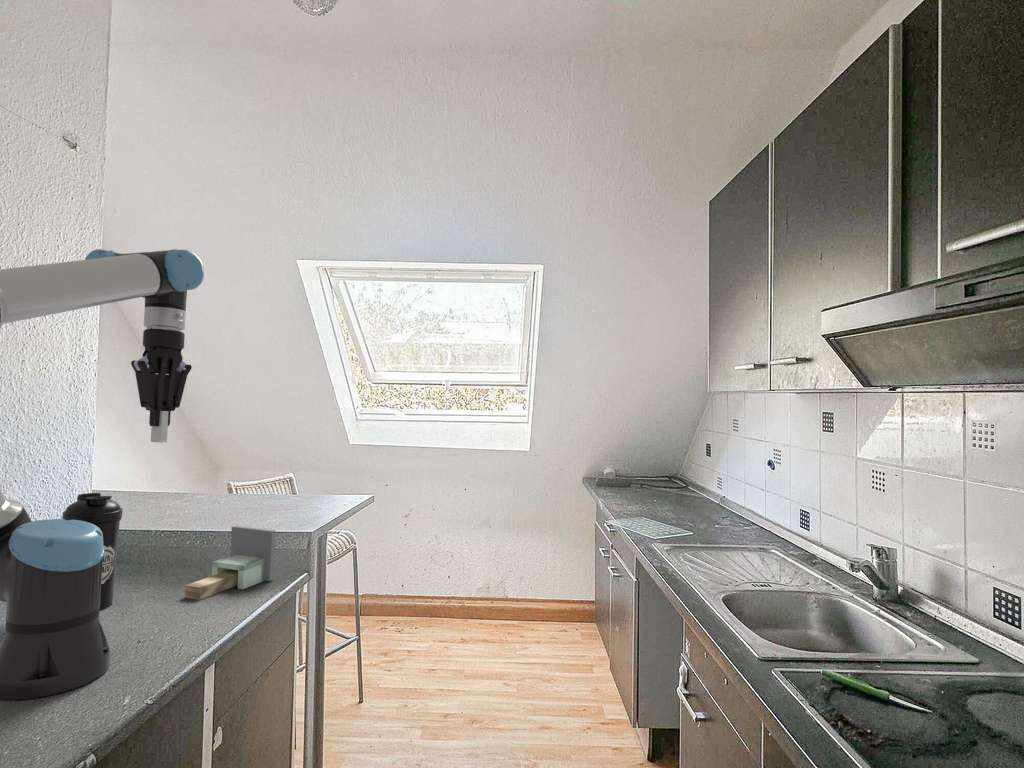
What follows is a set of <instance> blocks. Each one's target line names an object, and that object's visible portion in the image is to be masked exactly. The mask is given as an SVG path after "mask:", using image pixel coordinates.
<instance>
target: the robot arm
mask: <svg viewBox="0 0 1024 768" xmlns="http://www.w3.org/2000/svg"><path fill="white" fill-rule="evenodd" d="M204 278H205V269H204V266H203V262H202V260H201V258H199V256H198V255H197V254H196V253H194V252H193V251H192V250H188V249H178V248H175V249H174V248H173V249H168V250H157V251H149V252H148V251H143V252H128V253H119V252H115V251H114V250H108V249H107V250H105V249H100V248H98V249H93V250H91V251H90V252H89V253H88V254H87V255H86V257H85V258H84V259H81V260H72V261H62V262H55V263H46V264H37V265H28V266H20V267H11V268H3V269H2V268H1V269H0V329H1V327H2V326H3V325H6V324H10V323H14V322H20V321H24V320H30V319H36V318H42V317H45V316H50V315H57V314H60V313H66V312H67V313H68V312H71V311H77V310H82V309H87V308H92V307H97V306H103V305H107V304H113V303H117V302H123V301H128V300H132V299H133V300H134V299H137V298H143V299H144V313H143V326H144V327H145V328H146V329H144V330H143V333H142V346H143V347H144V351H143V353H142V356H141V358H139V359H137V360H132V361H131V362H130V364H131V367H132V369H133V371H134V373H135V378H136V386H137V391H138V398H139V404H140V407H141V408H145V410H146V411H149V419H148V420H149V421H148V422H149V424H148V425H149V426H150V427H151V429H150V443H167V442H168V427H169V426H171V425H170V424H171V413H172V412H174V411H175V410H176V409H178V408H179V407H181V402H182V398H183V395H184V391H185V386H186V381H187V379H188V375H189V373H190V372H191V370H192V365H191V364H187V363H186V362H184V361H183V355H182V350H184V348H185V338H186V337H185V333H184V332H183V331H184V330H185V329H186V310H187V298H188V297H187V296H188V291H192V290H195V289H197V288H198V287H199V286H200V285H201V284H202V283H203V281H204ZM103 555H104V545H103V534H102V531H101V530H100V528H99V527H97V526H96V525H94V524H92V523H89V522H85V521H80V520H65V519H62V518H49V519H40V520H34V521H32V519H31V518H30V515H29V514H28V512H27V510H26V509H25V507H24V505H23V503H22V502H21V501H19V500H14V499H9V498H5V496H4V494H3V493H2V491H1V490H0V601H1V602H5V603H6V611H5V612H6V613H5V629H4V635H3V638H2V640H1V642H0V699H1V700H28V699H35V698H43V697H47V696H53V695H56V694H61V693H64V692H67V691H71V690H74V689H77V688H79V687H82V686H84V685H86V684H89V683H91V682H93V681H95V680H97V679H98V678H100V677H102V675H104V674H105V673H106V672H107V671H108V670H109V668H110V666H111V665H110V664H111V663H110V661H111V650H110V647H109V645H108V641H107V637H106V636H105V632H104V629H103V627H102V622H101V621H100V611H101V610H100V595H101V579H102V564H103Z"/></svg>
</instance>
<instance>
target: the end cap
mask: <svg viewBox="0 0 1024 768" xmlns="http://www.w3.org/2000/svg"><path fill="white" fill-rule="evenodd" d="M230 531H231V533H230V534H231V535H230V552H229V553H230V555H228V556H225V557H223V558H219V559H217V560H216V559H215V560H213V561H212V566H211V567H212V568H211V576H214V575H216V574H219V573H222V572H225V571H228V570H231V569H233V570H238V585H237V589H239V590H244V589H247V588H249V587H253V586H254V585H257V584H260V583H262V582H272V581H273V580H274V571H275V567H274V566H275V546H276V544H275V543H276V530H274V529H267V528H266V529H265V528H258V527H257V528H256V527H250V526H249V527H248V526H247V527H246V526H239V525H233V526H231V530H230Z"/></svg>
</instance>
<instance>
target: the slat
mask: <svg viewBox="0 0 1024 768" xmlns="http://www.w3.org/2000/svg"><path fill="white" fill-rule="evenodd" d="M236 586H238V570H233V569H231V570H228V571H225V572H222V573H219V574H216V575H214V576H212V575H211V576H208V577H206V578H203V579H200V580H197V581H194V582H191V583H188V584H185V588H184V589H185V592H184V598H186V599H193V600H199V601H200V600H203V599H206V598H208V597H210V596H213V595H215V594H219V593H221V592H223V591H226V590H228V589H231V588H234V587H236Z"/></svg>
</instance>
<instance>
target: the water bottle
mask: <svg viewBox="0 0 1024 768" xmlns="http://www.w3.org/2000/svg"><path fill="white" fill-rule="evenodd" d="M76 498H77V500H76V501H75V502H73V503H70V505H68V506H67V507H66V509H65V510H64V511H63V512H62V514H61V515H62V518H61V519H65V520H80V521H85V522H89V523H92V524H94V525H96V526H97V527H99V528H100V530H101V531H102V534H103V545H104V555H103V564H102V579H101V595H100V611H102V610H105V609H107V608H109V607H111V606H112V605H113V602H114V601H113V600H114V590H115V580H116V579H115V578H116V568H117V555H118V545H119V536H120V535H119V534H120V524H121V523H120V522H121V521H122V517H123V508H122V507H121V506H120V504H119V503H118V502H116V501H115V500H113V499H112V498H113V496H112V495H102V494H101V492H90V493H88V492H87V493H80V494H79V493H78V495H77V497H76Z"/></svg>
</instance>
